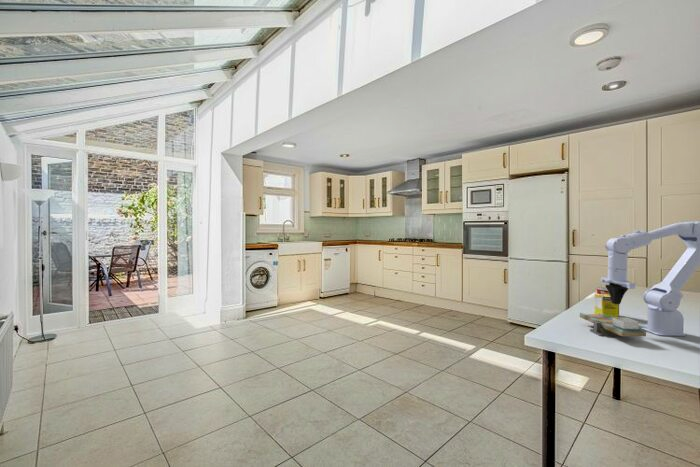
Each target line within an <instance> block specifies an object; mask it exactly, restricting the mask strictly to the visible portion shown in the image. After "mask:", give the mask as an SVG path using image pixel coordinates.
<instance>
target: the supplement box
mask: <svg viewBox="0 0 700 467" xmlns="http://www.w3.org/2000/svg"><path fill="white" fill-rule="evenodd" d="M598 313H601V314H604V315H606V316H609V317H611V318H613V317H618V304H613V303H612V301H611V297H610V294H597V293H595V294H594V314H598Z"/></svg>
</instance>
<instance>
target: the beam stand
mask: <svg viewBox="0 0 700 467" xmlns="http://www.w3.org/2000/svg"><path fill="white" fill-rule="evenodd" d="M589 331H590V332H591V333H593V334H596V335H597V336H607V337H621V336H620V335H618V334H616V333H614V332H611V331H609V330H607V329H605V328H602V327H601V323H600V322H594V323H593V328H590V329H589Z"/></svg>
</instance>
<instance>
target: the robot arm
mask: <svg viewBox="0 0 700 467" xmlns="http://www.w3.org/2000/svg"><path fill="white" fill-rule="evenodd" d="M670 236H678V238H679V239H680V240H681V241H682V242H683V243H684V244H685V246H686V247H687V248H686V249H685V251H684V252H683V253H682V255H681V256H680V258H678V260H677V262H676V263H675V264H674V265H673V266H672V268H671V270H670V271H669V272H668V273H667V275H665V277H664V278H663V280H662V281H661V282H659V283H657V284H656V283H655V284H653V286H652V287H651V288H650V289H647V290H645V292H644V293H643V295H642V299H643V302H645V303H646V307H647V327H640V329H641V330H644V331H646V332H649V333H651V334H653V335H656V336H666V337H667V336H668V337H669V336H670V337H671V336H673V337H675V336H677V337H679V336H680V337H684V336H686V334H685V333H684V330H685V329H684V324H685V323H684V320H685V318H684V316H683V313H682V312H680V310H677V309H678V308H679V307H680V304H681V300H682V298H683V294H682V292H681V290H682V288H683V287H684V286H685V284H687V282H688V280H690V278H691V277H692V276H693V274H694V273H695V271H696V270H697V269H698V268H699V267H700V221H697V220H696V221H687V220H685V221H679V222H675V223H672V224H668V225H665V226H662V227H659V228H656V229H654V230H650V231H648V232H647V231H645V230H640V229H638V230H637V229H635V230H634V231H633V233H628V234H620V235H619V237H612V238H609V239H608V240H607V242H606V243H605V244H604V249H606V250H607V255H608V257H607V276H600V282H601V283H606V284H605V286H604V287H606V288H607V290H608V291H609V294H610V297H611V301H612V303H613V304H619V305H621V303H622V300H623V298H624V296H625V294H626V292H627V291H628V290H629V289H634V290H635V289H636V283H635V282H630V281H628V253H630V252H631V250H636V249H638V248H642V247H645V246H649V245H651V243H652V241H653V240H654V241H655V240H658V239H663V238H666V237H670Z"/></svg>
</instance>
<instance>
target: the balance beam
mask: <svg viewBox="0 0 700 467" xmlns="http://www.w3.org/2000/svg"><path fill="white" fill-rule="evenodd" d="M579 318H580V319H583V320H585V321H588V322H589V323H592V324H594V322H600V323H601V328H602V329H607V330H609V331H611V332H614V333H616V334H618V335H620V336H619V337H647V331H646V330H643V329H641V328H639V331H626V330H620V329H618V328H616V327H613V318H611V317H609V316H606V315H604V314H601V313H598V314H595V313H593V314H591V313H589V314H588V313H583V312H580V313H579Z"/></svg>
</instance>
